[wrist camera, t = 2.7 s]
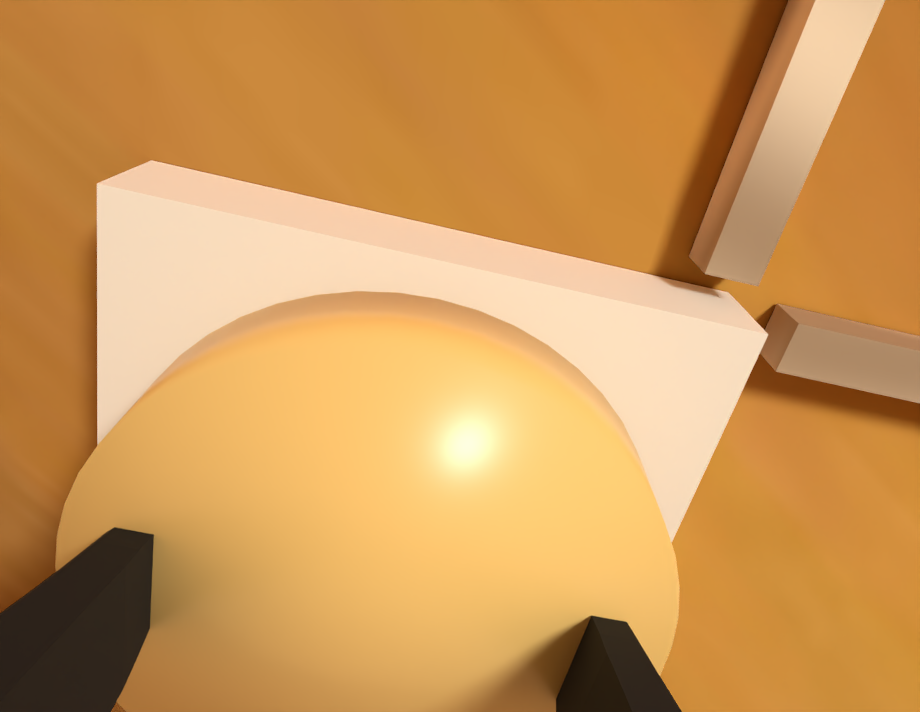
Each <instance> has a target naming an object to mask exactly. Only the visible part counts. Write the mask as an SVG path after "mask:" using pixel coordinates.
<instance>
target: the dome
mask: <svg viewBox="0 0 920 712" xmlns="http://www.w3.org/2000/svg"><path fill="white" fill-rule="evenodd" d="M114 527H116V528H122V529H127V530H132V531H138V532H143V533H149V534H154V545H153V568H152V591H151V614H150V629H149V632H148V634H147V636H146V639H145V641H144V643H143V646H142V648H141V650H140V653H139V655H138V657H137V660H136V662H135V664H134V666H133V669H132V671H131V673H130V675H129V677H128V680H127V682H126V684H125V686H124V689H123V690H122V692H121V694H120V696H119V698H118V699H117V701H116V702H117V703H118V704H119V705H120V706H121V707H122V708H123V709H124V710H125V711H126V712H556V698H557V695H558V693H559V691H560V688H561V686H562V684H563V681H564V679H565V677H566V674H567V672H568V669H569V667H570V665H571V662H572V660H573V658H574V655H575V653H576V651H577V648H578V646H579V644H580V641H581V639H582V637H583V634H584V632H585V630H586V627H587V625H588V622H589V620H590V618H591V615H592V616H597V617H603V618H608V619H614V620H619V621H625V622H627V623H628V625H629V626H630V628H631V629H632V631H633V633H634V634H635V636H636V638H637V639H638V641H639V643H640V644H641V646H642V647H643V649H644V651H645V652H646V654H647V656H648V657H649V659H650V661H651V662H652V664H653V666H654V667H655V669H656V671H657V672H658V674H659V676H660V675H661V672H662V670H663V667H664V665H665V663H666V660H667V658H668V655H669V653H670V650H671V648H672V644H673V640H674V635H675V631H676V626H677V622H678V614H679V593H680V586H679V578H678V571H677V563H676V556H675V553H674V550H673V547H672V543H671V540H670V537H669V534H668V531H667V528H666V524H665V522H664V519H663V517H662V514H661V511H660V509H659V506H658V504H657V501H656V498H655V496H654V493H653V491H652V488H651V485H650V483H649V480H648V478H647V475H646V473H645V470H644V467H643V465H642V462H641V460H640V457H639V454H638V452H637V449H636V447H635V445H634V443H633V441H632V439H631V437H630V436H629V434H628V432H627V430H626V428H625V426H624V424H623V422H622V420H621V419H620V417H619V416H618V415H617V413H616V412H615V410H614V409H613V408H612V406H611V405H610V403H609V402H608V401H607V399H606V398H605V397H604V395H603V394H602V393H601V392H600V391H599V390H598V389H597V388H596V387H595V385H594V384H593V383H592V382H591V381H590V380H589V379H588V378H587V377H586V376H585V375H584V374H583V373H582V372H581V371H580V370H579V369H578V368H577V367H576V366H574V365H573V364H572V363H570V362H569V361H568V360H567V359H565V358H564V357H563V356H561V355H560V354H559V353H558V352H556V351H555V350H554V349H552V348H551V347H550V346H549V345H547V344H545V343H543V342H542V341H540V340H538V339H537V338H535V337H533V336H532V335H530V334H528V333H526V332H525V331H523V330H521V329H520V328H518V327H516V326H514V325H512V324H509V323H507V322H505V321H502V320H500V319H498V318H495V317H493V316H491V315H488V314H486V313H484V312H481V311H479V310H476V309H472V308H469V307H465V306H462V305H458V304H455V303H451V302H448V301H444V300H441V299H436V298H430V297H423V296H417V295H410V294H404V293H397V292H367V291H353V292H342V293H331V294H320V295H313V296H308V297H304V298H299V299H295V300H290V301H286V302H281V303H277V304H274V305H271V306H269V307H266V308H263V309H261V310H258V311H255V312H252V313H250V314H247V315H244V316H241V317H239V318H237V319H236V320H234V321H232V322H230V323H228V324H226V325H224V326H223V327H221V328H219V329H217V330H215V331H213V332H211V333H209V334H208V335H206V336H205V337H204V338H202V339H201V340H200V341H198V342H197V343H196V344H194V345H193V346H192V347H190V348H189V349H188V350H186V351H185V352H184V353H182V354H181V355H180V356H179V357H178V358H177V359H176V360H175V361H174V362H173V363H172V364H171V365H170V366H169V367H168V368H167V369H166V370H165V371H164V372H163V373H162V374H161V375H160V376H159V377H158V378H157V379H156V380H155V381H154V383H153V384H152V385H151V386H150V387H149V388H148V389H147V390H146V391H145V393H144V394H143V395H142V396H141V397H140V398H139V399H138V400H137V402H136V403H135V404H134V405H133V406H132V407H131V408H130V409H129V410H128V412H127V413H126V414H125V415H124V416H123V417H122V418H121V419H120V421H119V422H118V423H117V424H116V425H115V426H114V427H113V428H112V429H111V431H110V432H109V433H108V434H107V435H106V436H105V437H104V438H103V440H102V441H101V442H100V443H99V444H98V445H97V447H96V448H95V450H94V451H93V453H92V454H91V456H90V457H89V458H88V460H87V461H86V463H85V464H84V466H83V467H82V469H81V470H80V471H79V473H78V475H77V477H76V479H75V482H74V484H73V486H72V488H71V491H70V493H69V495H68V497H67V499H66V502H65V504H64V508H63V512H62V516H61V520H60V525H59V529H58V533H57V543H56V562H55V568H56V571H58V570H59V569H60V568H61V567H63V566H64V565H65V564H67V563H68V562H69V561H70V560H72V559H73V558H74V557H76V556H77V555H78V554H79V553H81V552H82V551H83V550H84V549H86V548H87V547H88V546H89V545H91V544H92V543H93V542H95V541H96V540H97V539H98V538H100V537H101V536H102V535H103V534H105V533H106V532H107V531H109V530H111V529H112V528H114Z"/></svg>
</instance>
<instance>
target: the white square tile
mask: <svg viewBox="0 0 920 712" xmlns="http://www.w3.org/2000/svg"><path fill="white" fill-rule="evenodd" d="M353 291H367V292H397V293H404V294H410V295H417V296H423V297H430V298H436V299H441V300H444V301H448V302H451V303H455V304H458V305H462V306H465V307H469V308H472V309H476V310H479V311H481V312H484V313H486V314H488V315H491V316H493V317H495V318H498V319H500V320H502V321H505V322H507V323H509V324H512V325H514V326H516V327H518V328H520V329H521V330H523V331H525V332H526V333H528V334H530V335H532V336H533V337H535V338H537V339H538V340H540V341H542V342H543V343H545V344H547V345H549V346H550V347H551V348H552V349H554V350H555V351H556V352H558V353H559V354H560V355H561V356H563V357H564V358H565V359H567V360H568V361H569V362H570V363H572V364H573V365H574V366H576V367H577V368H578V369H579V370H580V371H581V372H582V373H583V374H584V375H585V376H586V377H587V378H588V379H589V380H590V381H591V382H592V383H593V384H594V385H595V387H596V388H597V389H598V390H599V391H600V392H601V393H602V394H603V395H604V397H605V398H606V399H607V401H608V402H609V403H610V405H611V406H612V408H613V409H614V410H615V412H616V413H617V415H618V416H619V417H620V419H621V420H622V422H623V424H624V426H625V428H626V430H627V432H628V434H629V436H630V437H631V439H632V441H633V443H634V445H635V447H636V449H637V452H638V454H639V457H640V460H641V462H642V465H643V467H644V470H645V473H646V475H647V478H648V480H649V483H650V485H651V488H652V491H653V493H654V496H655V498H656V501H657V504H658V506H659V509H660V511H661V514H662V517H663V519H664V522H665V524H666V528H667V531H668V534H669V537H670V540H671V543H672V541H673V538H674V536H675V534H676V532H677V530H678V528H679V526H680V523H681V521H682V519H683V517H684V515H685V513H686V511H687V508H688V506H689V504H690V502H691V500H692V498H693V495H694V493H695V491H696V489H697V487H698V485H699V483H700V480H701V478H702V476H703V474H704V472H705V470H706V468H707V465H708V463H709V461H710V459H711V457H712V455H713V453H714V450H715V448H716V446H717V444H718V442H719V440H720V437H721V435H722V433H723V431H724V429H725V427H726V425H727V422H728V420H729V418H730V416H731V414H732V412H733V410H734V407H735V405H736V403H737V401H738V399H739V397H740V395H741V392H742V390H743V388H744V386H745V384H746V382H747V379H748V377H749V375H750V373H751V371H752V369H753V367H754V364H755V362H756V360H757V358H758V356H759V354H760V352H761V349H762V347H763V345H764V343H765V341H766V339H767V336H768V333H767V332H766V331H765V330H764V329H763V328H762V327H761V326H760V325H759V324H758V323H757V322H756V321H755V320H754V319H753V318H752V317H751V316H750V315H749V314H748V312H747V311H746V310H745V309H744V308H743V307H742V306H741V305H740V304H739V303H738V302H737V301H736V300H735V299H734V298H733V297H732V296H731V295H730V294H729V293H728V292H724V291H720V290H715V289H711V288H707V287H702V286H698V285H694V284H689V283H685V282H681V281H676V280H672V279H667V278H663V277H659V276H654V275H650V274H646V273H641V272H637V271H633V270H628V269H624V268H619V267H615V266H611V265H606V264H602V263H598V262H593V261H589V260H585V259H580V258H576V257H571V256H567V255H563V254H558V253H554V252H550V251H545V250H541V249H536V248H532V247H528V246H523V245H519V244H515V243H510V242H506V241H502V240H497V239H493V238H488V237H484V236H480V235H475V234H471V233H467V232H462V231H458V230H454V229H449V228H445V227H440V226H436V225H432V224H427V223H423V222H419V221H414V220H410V219H406V218H401V217H397V216H392V215H388V214H384V213H379V212H375V211H371V210H366V209H362V208H357V207H353V206H349V205H344V204H340V203H336V202H331V201H327V200H323V199H318V198H314V197H309V196H305V195H301V194H296V193H292V192H288V191H283V190H279V189H275V188H270V187H266V186H261V185H257V184H253V183H248V182H244V181H240V180H235V179H231V178H227V177H222V176H218V175H213V174H209V173H205V172H200V171H196V170H192V169H187V168H183V167H178V166H174V165H170V164H165V163H161V162H157V161H152V160H151V161H149V162H147V163H144V164H142V165H140V166H137V167H135V168H132V169H130V170H128V171H125V172H123V173H120V174H118V175H116V176H113V177H111V178H109V179H106V180H104V181H101V182H99V183H97V445H98V444H99V443H100V442H101V441H102V440H103V438H104V437H105V436H106V435H107V434H108V433H109V432H110V431H111V429H112V428H113V427H114V426H115V425H116V424H117V423H118V422H119V421H120V419H121V418H122V417H123V416H124V415H125V414H126V413H127V412H128V410H129V409H130V408H131V407H132V406H133V405H134V404H135V403H136V402H137V400H138V399H139V398H140V397H141V396H142V395H143V394H144V393H145V391H146V390H147V389H148V388H149V387H150V386H151V385H152V384H153V383H154V381H155V380H156V379H157V378H158V377H159V376H160V375H161V374H162V373H163V372H164V371H165V370H166V369H167V368H168V367H169V366H170V365H171V364H172V363H173V362H174V361H175V360H176V359H177V358H178V357H179V356H180V355H181V354H182V353H184V352H185V351H186V350H188V349H189V348H190V347H192V346H193V345H194V344H196V343H197V342H198V341H200V340H201V339H202V338H204V337H205V336H206V335H208V334H209V333H211V332H213V331H215V330H217V329H219V328H221V327H223V326H224V325H226V324H228V323H230V322H232V321H234V320H236V319H237V318H239V317H241V316H244V315H247V314H250V313H252V312H255V311H258V310H261V309H263V308H266V307H269V306H271V305H274V304H277V303H281V302H286V301H290V300H295V299H299V298H304V297H308V296H313V295H320V294H331V293H342V292H353Z"/></svg>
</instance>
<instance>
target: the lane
mask: <svg viewBox="0 0 920 712" xmlns="http://www.w3.org/2000/svg"><path fill="white" fill-rule="evenodd" d="M884 2H885V0H788V3H787V5H786V8H785V10H784V13H783V15H782V18H781V21H780V23H779V26H778V28H777V31H776V33H775V36H774V39H773V41H772V44H771V46H770V49H769V51H768V54H767V57H766V59H765V62H764V64H763V67H762V69H761V72H760V75H759V77H758V80H757V82H756V85H755V87H754V90H753V93H752V95H751V98H750V100H749V103H748V105H747V108H746V111H745V113H744V116H743V118H742V121H741V123H740V126H739V129H738V131H737V134H736V136H735V139H734V141H733V144H732V147H731V149H730V152H729V154H728V157H727V159H726V162H725V165H724V167H723V170H722V172H721V175H720V177H719V180H718V183H717V185H716V188H715V190H714V193H713V195H712V198H711V201H710V203H709V206H708V208H707V211H706V213H705V216H704V219H703V221H702V224H701V226H700V229H699V231H698V234H697V237H696V239H695V242H694V244H693V247H692V249H691V252H690V255H689V258H690V259H691V260H692V261H693V262H694V263H695V264H696V265H697V266H698V267H699V268H700V269H701V270H702V272H703V273H704V274H707V275H711V276H716V277H720V278H724V279H729V280H733V281H737V282H742V283H746V284H750V285H755V286H759V284H760V281H761V279H762V277H763V275H764V272H765V270H766V268H767V266H768V263H769V261H770V259H771V256H772V254H773V252H774V250H775V247H776V245H777V243H778V241H779V238H780V236H781V234H782V232H783V229H784V227H785V225H786V223H787V220H788V218H789V216H790V214H791V211H792V209H793V207H794V205H795V202H796V200H797V198H798V196H799V193H800V191H801V189H802V187H803V184H804V182H805V180H806V178H807V175H808V173H809V171H810V169H811V166H812V164H813V162H814V160H815V157H816V155H817V153H818V150H819V148H820V146H821V144H822V141H823V139H824V137H825V135H826V132H827V130H828V128H829V126H830V123H831V121H832V119H833V117H834V114H835V112H836V110H837V108H838V105H839V103H840V101H841V99H842V96H843V94H844V92H845V90H846V87H847V85H848V83H849V81H850V78H851V76H852V74H853V72H854V69H855V67H856V65H857V63H858V60H859V58H860V56H861V54H862V51H863V49H864V47H865V45H866V42H867V40H868V38H869V35H870V33H871V31H872V29H873V26H874V24H875V22H876V20H877V17H878V15H879V13H880V11H881V8H882V6H883V4H884ZM765 331H766V332H767V333H768V336H767V339H766V341H765V343H764V345H763V347H762V349H761V352H760V354H761V355H762V356H763V358H764V359H765V360H766V361H767V362H768V363H769V364H770V366H771V367H772V368H773V369H774V370H775V371H776V372H780V373H784V374H789V375H793V376H798V377H803V378H807V379H812V380H816V381H821V382H825V383H830V384H834V385H839V386H843V387H848V388H852V389H857V390H861V391H866V392H871V393H875V394H880V395H884V396H889V397H893V398H898V399H902V400H907V401H911V402H916V403H920V336H916V335H912V334H908V333H903V332H899V331H894V330H890V329H886V328H881V327H877V326H873V325H868V324H864V323H860V322H855V321H851V320H846V319H842V318H838V317H833V316H829V315H825V314H820V313H816V312H812V311H807V310H803V309H798V308H794V307H790V306H785V305H781V304H776V307H775V309H774V311H773V313H772V315H771V317H770V320H769V322H768V324H767V326H766V328H765Z"/></svg>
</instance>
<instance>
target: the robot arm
mask: <svg viewBox="0 0 920 712" xmlns="http://www.w3.org/2000/svg"><path fill="white" fill-rule="evenodd" d="M153 545H154V534H149V533H143V532H138V531H132V530H127V529H122V528H116V527H114V528H112V529H111V530H109V531H107V532H106V533H105V534H103V535H102V536H101V537H100V538H98V539H97V540H96V541H95V542H93V543H92V544H91V545H89V546H88V547H87V548H86V549H84V550H83V551H82V552H81V553H79V554H78V555H77V556H76V557H74V558H73V559H72V560H70V561H69V562H68V563H67V564H65V565H64V566H63V567H61V568H60V569H59V570H58V571H56V572H55V573H54V574H52V575H51V576H50V577H48V578H47V579H46V580H45V581H43V582H42V583H41V584H39V585H38V586H37V587H35V588H34V589H33V590H31V591H30V592H29V593H27V594H26V595H25V596H23V597H22V598H20V599H19V600H18V601H16V602H15V603H14V604H12V605H11V606H9V607H8V608H7V609H5V610H4V611H3V612H1V613H0V712H111V710H112V708H113V707H114V705H115V703H116V701H117V699H118V698H119V696H120V694H121V692H122V690H123V689H124V686H125V684H126V682H127V680H128V677H129V675H130V673H131V671H132V669H133V666H134V664H135V662H136V660H137V657H138V655H139V653H140V650H141V648H142V646H143V643H144V641H145V639H146V636H147V634H148V632H149V629H150V614H151V591H152V568H153ZM556 712H682V711H681V710H680V708H679V706H678V705H677V703H676V702H675V700H674V698H673V697H672V695H671V694H670V692H669V690H668V689H667V687H666V685H665V684H664V682H663V681H662V679H661V677H660V676H659V674H658V672H657V671H656V669H655V667H654V666H653V664H652V662H651V661H650V659H649V657H648V656H647V654H646V652H645V651H644V649H643V647H642V646H641V644H640V643H639V641H638V639H637V638H636V636H635V634H634V633H633V631H632V629H631V628H630V626H629V625H628V623H627V622H625V621H619V620H614V619H608V618H603V617H597V616H592V615H591V618H590V620H589V622H588V625H587V627H586V630H585V632H584V634H583V637H582V639H581V641H580V644H579V646H578V648H577V651H576V653H575V655H574V658H573V660H572V662H571V665H570V667H569V669H568V672H567V674H566V677H565V679H564V681H563V684H562V686H561V688H560V691H559V693H558V695H557V698H556Z"/></svg>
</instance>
